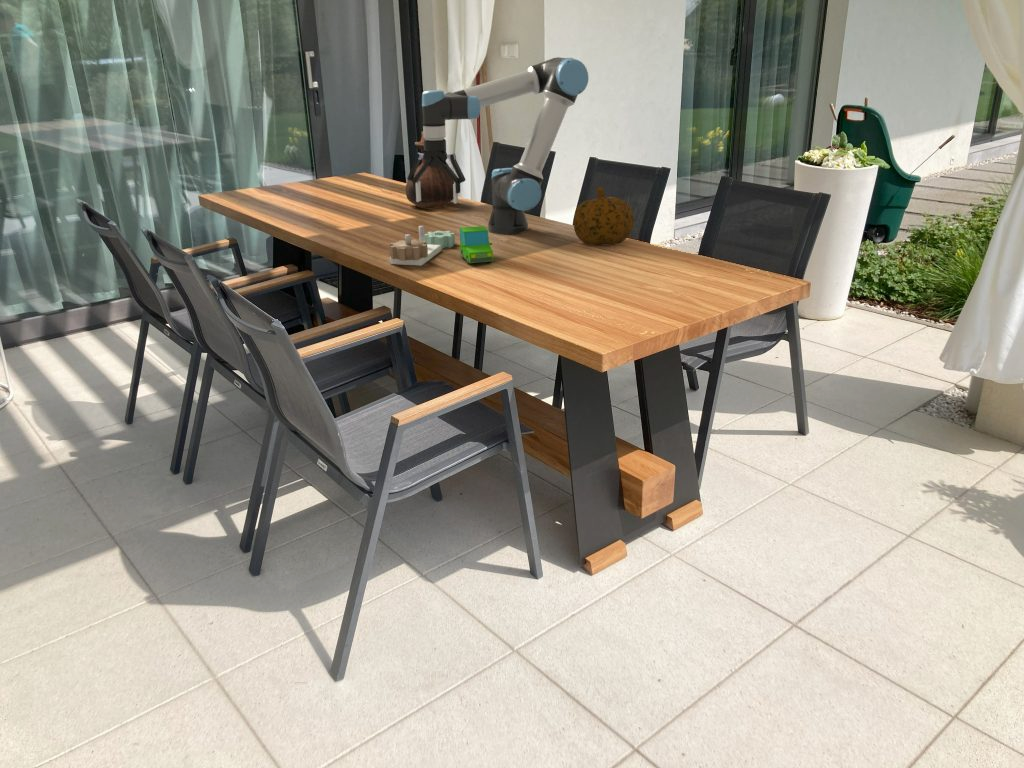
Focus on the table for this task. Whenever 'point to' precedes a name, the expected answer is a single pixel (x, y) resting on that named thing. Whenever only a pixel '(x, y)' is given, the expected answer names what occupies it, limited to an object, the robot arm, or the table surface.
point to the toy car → (475, 245)
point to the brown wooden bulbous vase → (431, 185)
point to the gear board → (422, 260)
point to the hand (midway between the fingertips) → (437, 202)
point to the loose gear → (440, 238)
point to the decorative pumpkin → (603, 220)
